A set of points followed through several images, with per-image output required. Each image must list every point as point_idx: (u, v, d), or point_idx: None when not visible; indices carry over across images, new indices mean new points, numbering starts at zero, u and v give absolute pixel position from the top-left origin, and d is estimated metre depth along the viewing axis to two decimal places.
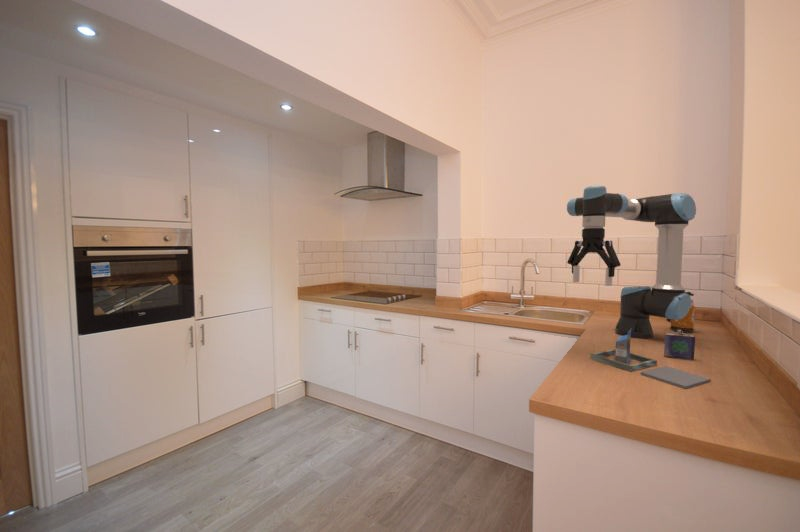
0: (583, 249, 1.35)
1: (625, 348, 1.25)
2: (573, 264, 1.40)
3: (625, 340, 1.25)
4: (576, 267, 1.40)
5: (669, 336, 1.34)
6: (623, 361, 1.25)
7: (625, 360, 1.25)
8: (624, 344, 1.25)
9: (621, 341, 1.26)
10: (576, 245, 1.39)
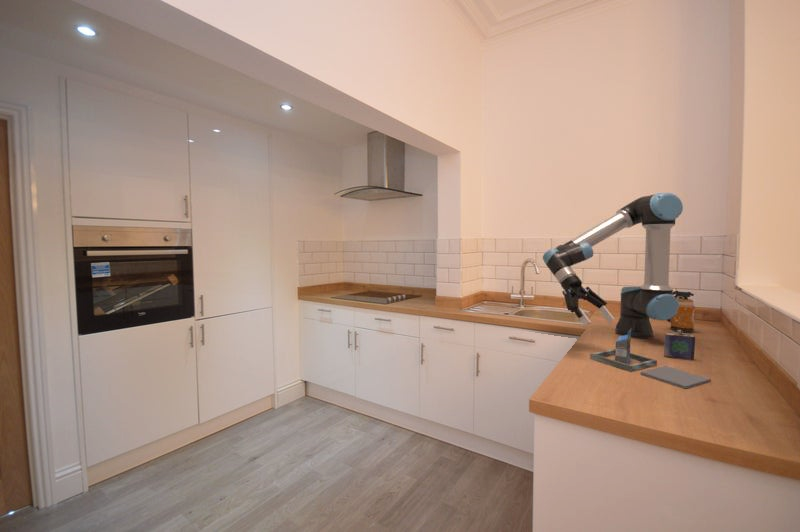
0: None
1: (625, 348, 1.25)
2: (599, 308, 1.44)
3: (625, 340, 1.25)
4: (600, 309, 1.43)
5: (669, 336, 1.34)
6: (623, 361, 1.25)
7: (625, 360, 1.25)
8: (624, 344, 1.25)
9: (621, 341, 1.26)
10: None
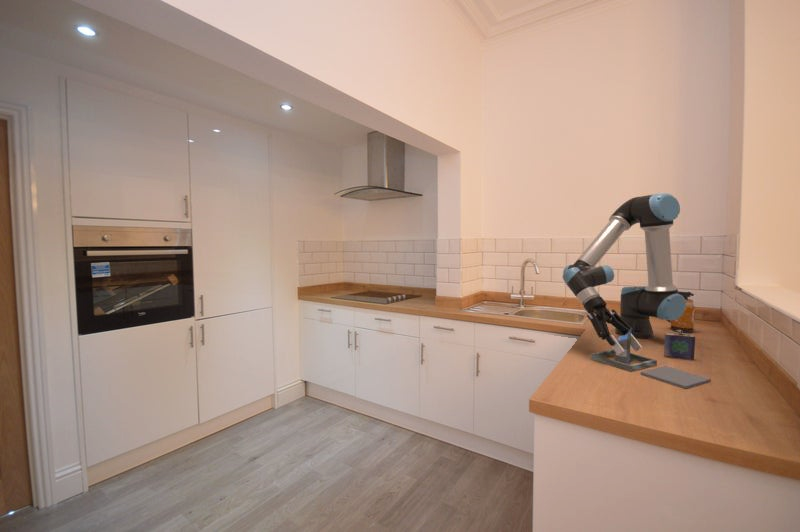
0: None
1: (625, 348, 1.25)
2: (624, 334, 1.34)
3: (625, 340, 1.25)
4: None
5: (669, 336, 1.34)
6: (623, 361, 1.25)
7: (625, 360, 1.25)
8: (624, 344, 1.25)
9: (621, 341, 1.26)
10: None
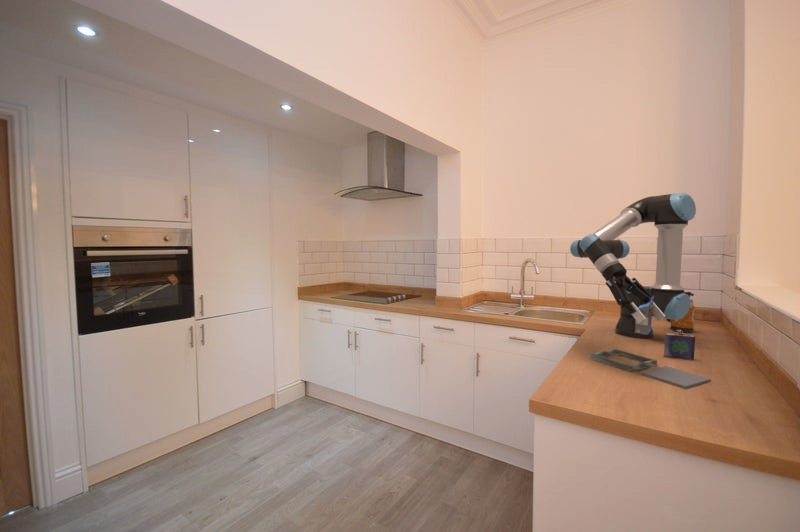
0: None
1: (646, 316, 1.16)
2: (645, 303, 1.25)
3: (647, 307, 1.16)
4: None
5: (669, 336, 1.34)
6: (644, 330, 1.17)
7: (646, 329, 1.16)
8: (646, 311, 1.16)
9: (642, 308, 1.17)
10: None
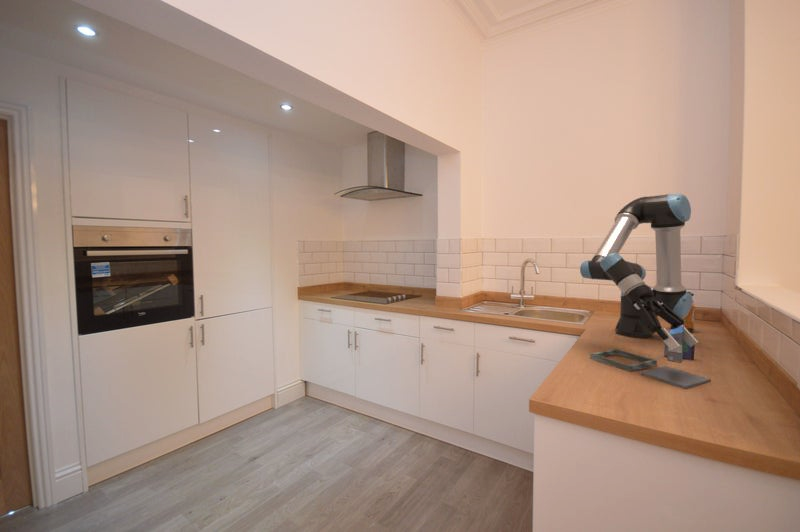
0: None
1: (680, 342, 1.09)
2: (674, 327, 1.18)
3: (680, 333, 1.09)
4: None
5: None
6: (677, 357, 1.10)
7: (680, 356, 1.09)
8: (679, 338, 1.09)
9: (675, 334, 1.10)
10: None
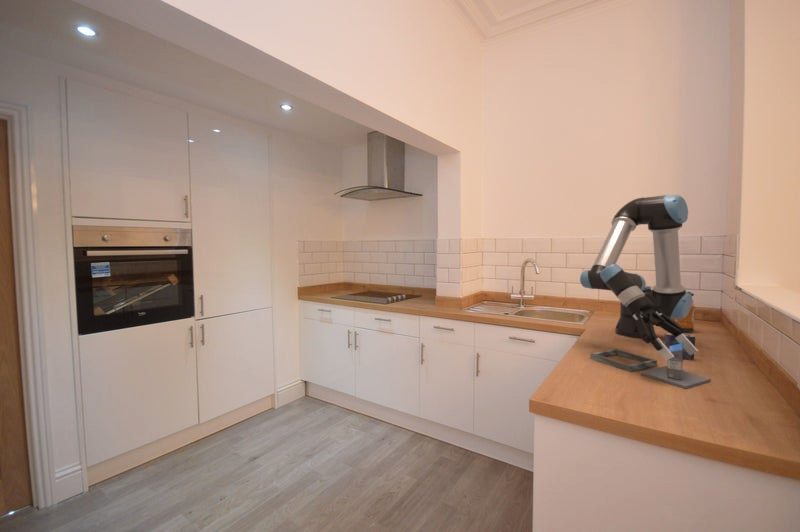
0: None
1: (680, 360, 1.10)
2: (675, 336, 1.20)
3: (680, 351, 1.10)
4: (678, 338, 1.18)
5: (669, 336, 1.34)
6: (677, 375, 1.10)
7: (680, 373, 1.10)
8: (678, 355, 1.10)
9: (675, 352, 1.10)
10: None
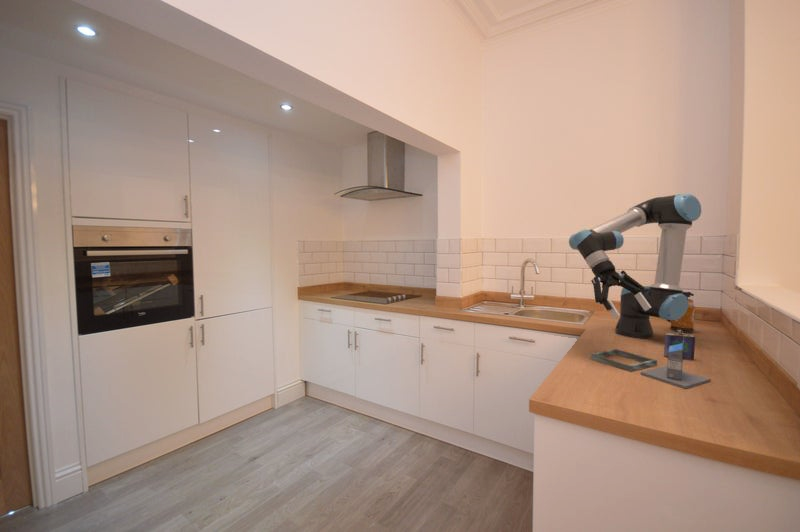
0: None
1: (680, 360, 1.10)
2: (635, 293, 1.33)
3: (680, 351, 1.10)
4: (636, 296, 1.32)
5: (669, 336, 1.34)
6: (677, 375, 1.10)
7: (680, 373, 1.10)
8: (678, 355, 1.10)
9: (675, 352, 1.10)
10: None
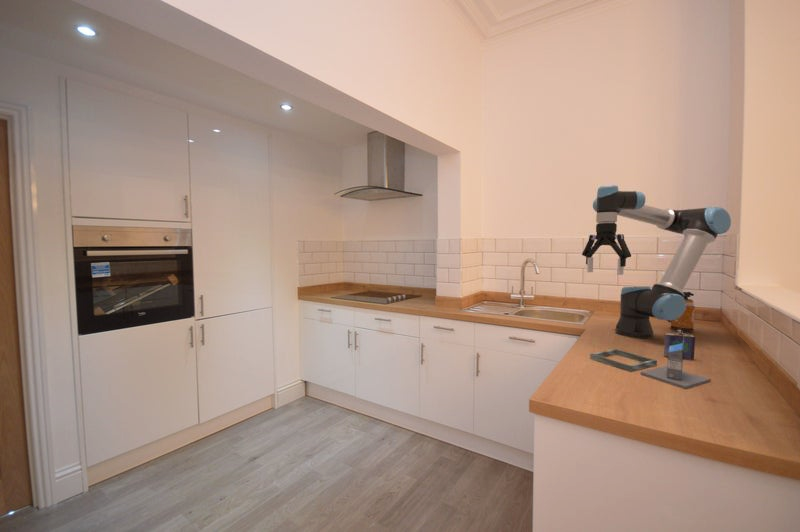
0: None
1: (680, 360, 1.10)
2: None
3: (680, 351, 1.10)
4: None
5: (669, 336, 1.34)
6: (677, 375, 1.10)
7: (680, 373, 1.10)
8: (678, 355, 1.10)
9: (675, 352, 1.10)
10: None
